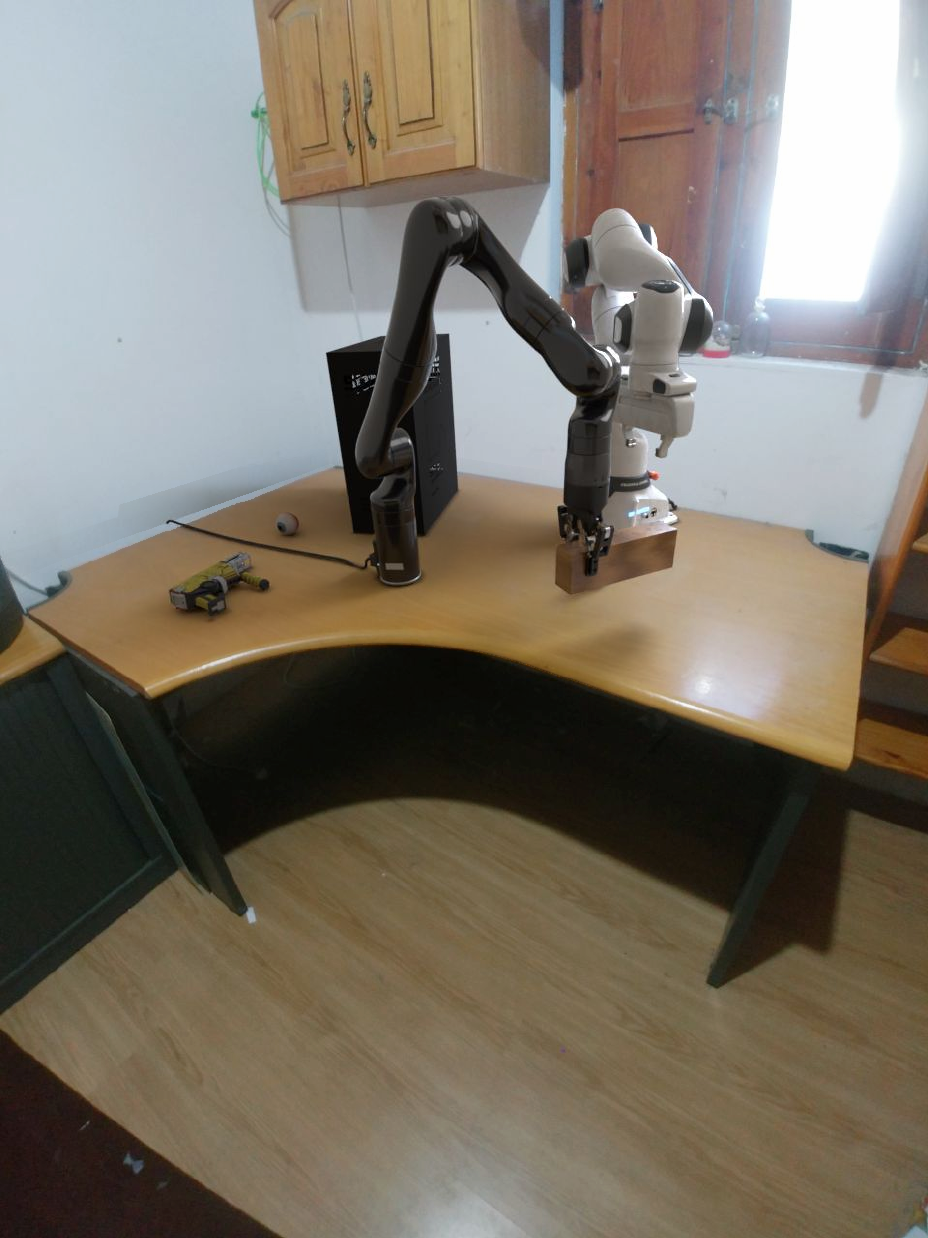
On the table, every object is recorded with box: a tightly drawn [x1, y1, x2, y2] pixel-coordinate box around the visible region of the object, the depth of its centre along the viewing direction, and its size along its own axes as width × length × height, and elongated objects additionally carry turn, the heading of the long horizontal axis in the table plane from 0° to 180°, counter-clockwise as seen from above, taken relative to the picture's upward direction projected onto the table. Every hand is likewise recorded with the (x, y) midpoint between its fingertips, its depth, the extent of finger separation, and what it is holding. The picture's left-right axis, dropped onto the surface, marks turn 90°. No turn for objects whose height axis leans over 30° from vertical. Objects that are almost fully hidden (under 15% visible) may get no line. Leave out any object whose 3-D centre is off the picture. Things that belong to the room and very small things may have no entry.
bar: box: [554, 521, 678, 596], centre depth 111 cm, size 23×5×8 cm, turn 115°
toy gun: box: [168, 551, 270, 617], centre depth 135 cm, size 5×24×15 cm
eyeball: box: [275, 511, 300, 536], centre depth 163 cm, size 6×6×6 cm
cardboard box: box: [325, 333, 459, 536], centre depth 166 cm, size 38×20×45 cm, turn 167°
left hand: (581, 568), depth 109 cm, fingers closed on bar, 5 cm apart
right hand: (644, 452), depth 121 cm, fingers open, 8 cm apart
